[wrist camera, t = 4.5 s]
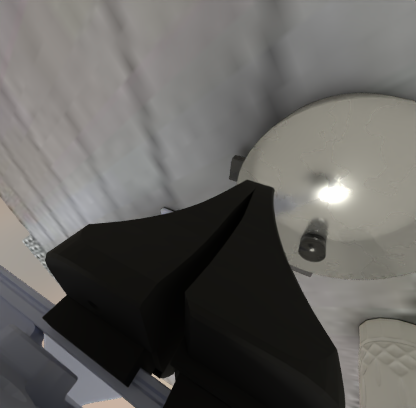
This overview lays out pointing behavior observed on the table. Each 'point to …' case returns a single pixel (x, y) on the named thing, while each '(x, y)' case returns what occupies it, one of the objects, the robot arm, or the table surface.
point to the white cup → (387, 364)
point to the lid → (343, 186)
